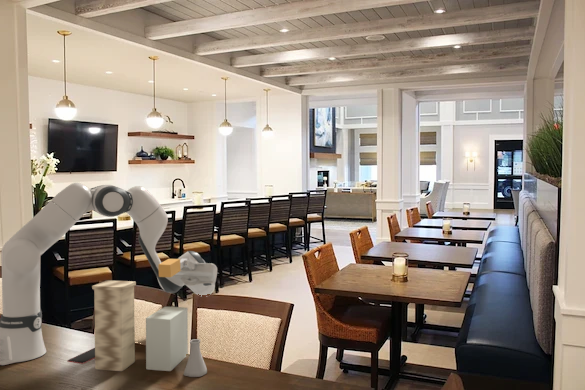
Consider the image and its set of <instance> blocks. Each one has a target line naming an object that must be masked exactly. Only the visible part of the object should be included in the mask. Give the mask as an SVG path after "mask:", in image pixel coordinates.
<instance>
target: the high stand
mask: <svg viewBox="0 0 585 390" xmlns="http://www.w3.org/2000/svg"><path fill="white" fill-rule="evenodd" d="M136 285H137V282H136V281H132V280H131V281H130V280H129V281H128V280H111V279H110V280H109V279H108V280H104V281H102V282H99V283H96V284H94V285H91V288H92V290H93V291H94V293H93V294H94V297H93V299H94V306H93V307H94V348H95V359H94V360H95V361H94V363H95V364H94V365H95V368H94V369H95V370H100V371H114V372H123V371H125V370H126V369H127V368H128V367H130V366H131V365H133V364H134V363H135V361H136V355H135V354H136V352H135V350H136V347H135V346H136V345H135V344H136V343H135V341H136V340H135V338H136V337H135V336H136V335H135V286H136Z"/></svg>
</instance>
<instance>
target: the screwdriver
mask: <svg viewBox="0 0 585 390" xmlns="http://www.w3.org/2000/svg"><path fill="white" fill-rule="evenodd" d="M184 260H186V261H188V259H181V260H180V259H178V258H168V259H166V260H164V261H161V262H162V263H160V264H158V267H159V277H172V276H174V275H175V274H177V273H178V272H180V271H181V268H183V267H185V266H184V265H183V264H184Z"/></svg>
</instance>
